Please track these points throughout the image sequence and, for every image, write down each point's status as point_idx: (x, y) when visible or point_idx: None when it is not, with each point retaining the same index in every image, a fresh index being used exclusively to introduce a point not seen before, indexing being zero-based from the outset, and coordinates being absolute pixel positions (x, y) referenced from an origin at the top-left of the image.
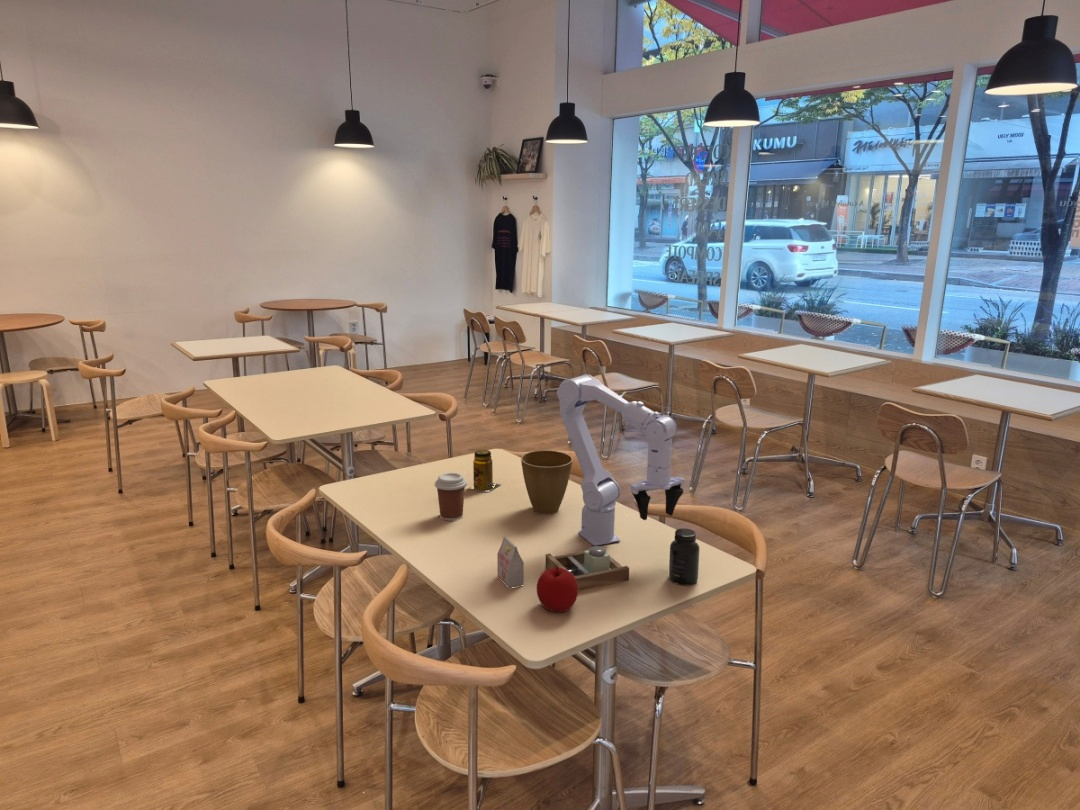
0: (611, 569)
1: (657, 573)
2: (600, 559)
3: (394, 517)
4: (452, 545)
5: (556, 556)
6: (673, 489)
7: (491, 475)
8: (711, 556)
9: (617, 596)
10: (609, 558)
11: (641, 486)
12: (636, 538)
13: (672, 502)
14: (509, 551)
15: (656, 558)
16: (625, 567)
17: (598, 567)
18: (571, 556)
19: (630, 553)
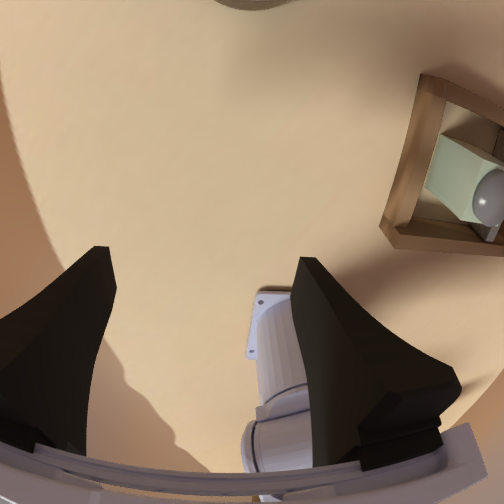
0: (485, 113)
1: (308, 43)
2: (499, 163)
3: (450, 411)
4: (485, 354)
5: (500, 254)
6: (24, 419)
7: None
8: (35, 85)
9: (491, 37)
10: (476, 155)
11: (451, 495)
12: (195, 288)
13: (66, 311)
14: None
15: (226, 142)
16: (451, 91)
17: (486, 154)
18: (486, 239)
19: (284, 215)
